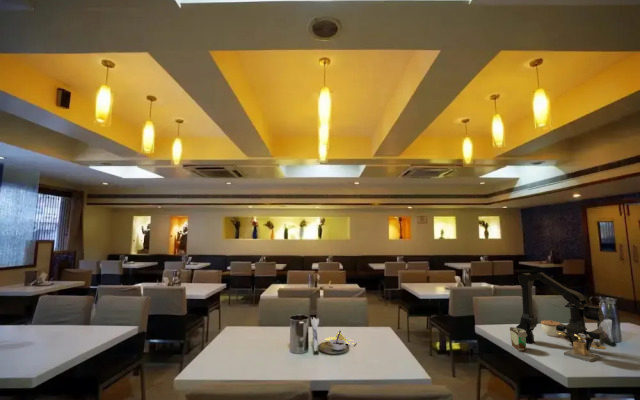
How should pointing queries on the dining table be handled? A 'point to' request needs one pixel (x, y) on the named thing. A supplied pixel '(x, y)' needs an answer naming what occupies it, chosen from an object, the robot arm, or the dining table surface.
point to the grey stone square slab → (587, 358)
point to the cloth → (339, 338)
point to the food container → (518, 339)
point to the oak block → (580, 348)
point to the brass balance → (597, 344)
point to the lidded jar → (550, 328)
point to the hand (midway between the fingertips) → (580, 348)
